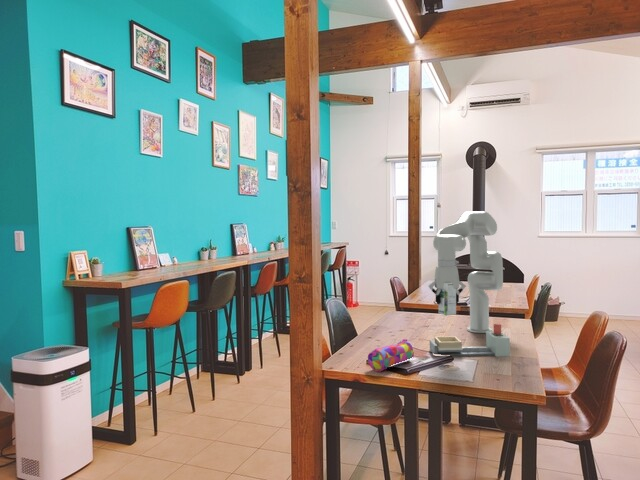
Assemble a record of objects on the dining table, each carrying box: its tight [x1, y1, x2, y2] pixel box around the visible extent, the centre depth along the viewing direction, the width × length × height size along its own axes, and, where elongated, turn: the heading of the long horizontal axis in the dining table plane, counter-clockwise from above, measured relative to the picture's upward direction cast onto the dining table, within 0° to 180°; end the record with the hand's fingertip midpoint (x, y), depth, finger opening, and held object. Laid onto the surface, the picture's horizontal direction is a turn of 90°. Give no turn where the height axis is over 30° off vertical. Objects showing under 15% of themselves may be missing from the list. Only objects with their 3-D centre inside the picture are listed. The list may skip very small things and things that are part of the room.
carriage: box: [434, 335, 464, 352], centre depth 202 cm, size 10×10×5 cm
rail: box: [429, 339, 496, 358], centre depth 202 cm, size 10×26×5 cm, turn 89°
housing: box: [485, 330, 511, 357], centre depth 202 cm, size 12×6×8 cm, turn 179°
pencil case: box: [367, 338, 415, 373], centre depth 187 cm, size 22×9×9 cm, turn 135°
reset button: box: [493, 323, 502, 336], centre depth 202 cm, size 3×3×7 cm
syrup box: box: [438, 282, 457, 316], centre depth 201 cm, size 6×6×14 cm
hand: (447, 303), depth 202 cm, fingers closed on syrup box, 7 cm apart
